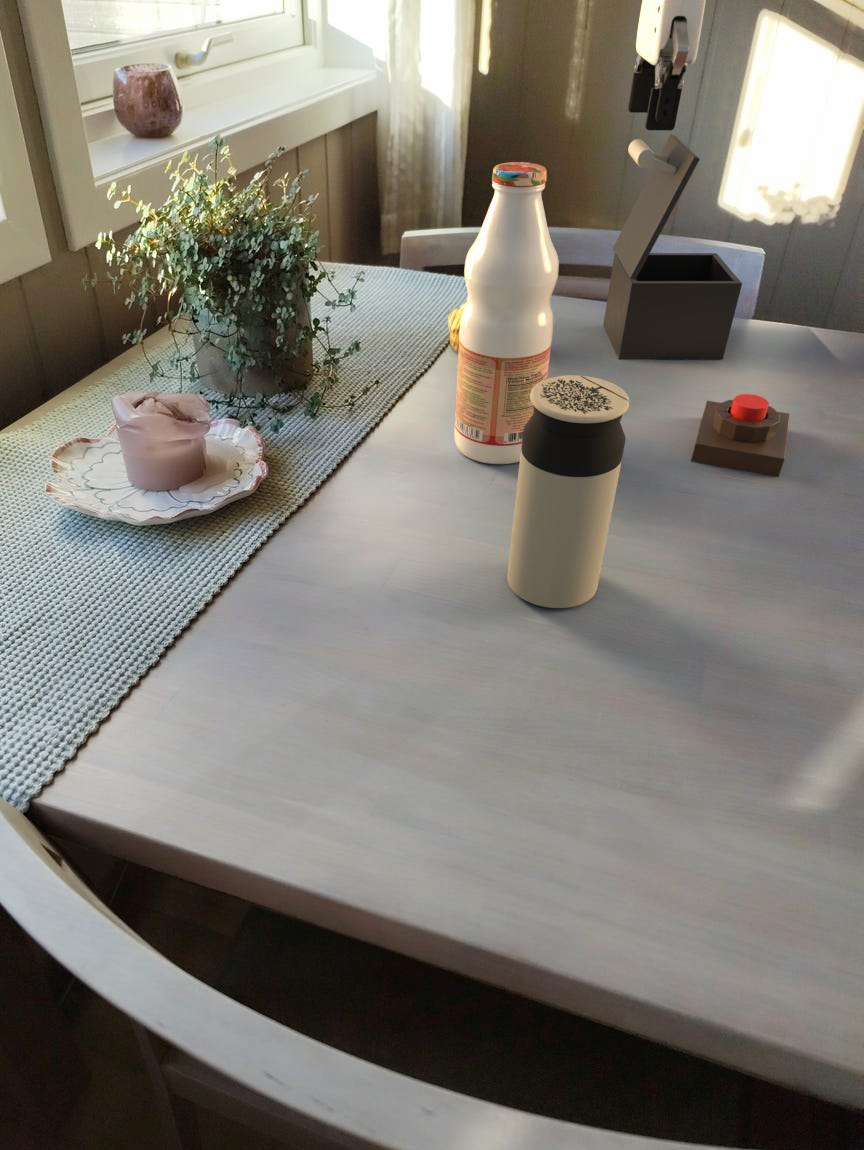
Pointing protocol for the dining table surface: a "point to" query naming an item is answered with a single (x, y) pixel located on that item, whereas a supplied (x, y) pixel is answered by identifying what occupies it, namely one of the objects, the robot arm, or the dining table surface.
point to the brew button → (749, 408)
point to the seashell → (455, 327)
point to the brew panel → (741, 440)
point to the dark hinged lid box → (672, 307)
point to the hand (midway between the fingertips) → (649, 120)
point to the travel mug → (566, 489)
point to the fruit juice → (505, 317)
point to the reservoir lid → (653, 199)
